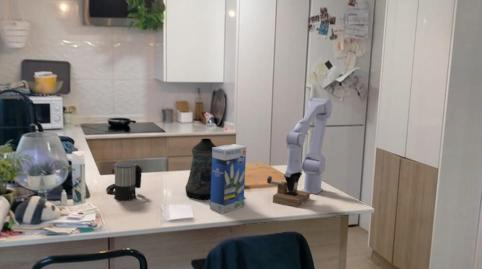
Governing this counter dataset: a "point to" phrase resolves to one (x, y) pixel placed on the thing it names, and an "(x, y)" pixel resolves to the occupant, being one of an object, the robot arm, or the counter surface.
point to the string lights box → (228, 177)
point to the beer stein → (200, 171)
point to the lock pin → (269, 180)
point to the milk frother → (125, 181)
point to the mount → (290, 196)
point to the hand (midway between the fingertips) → (292, 189)
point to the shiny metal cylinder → (294, 189)
